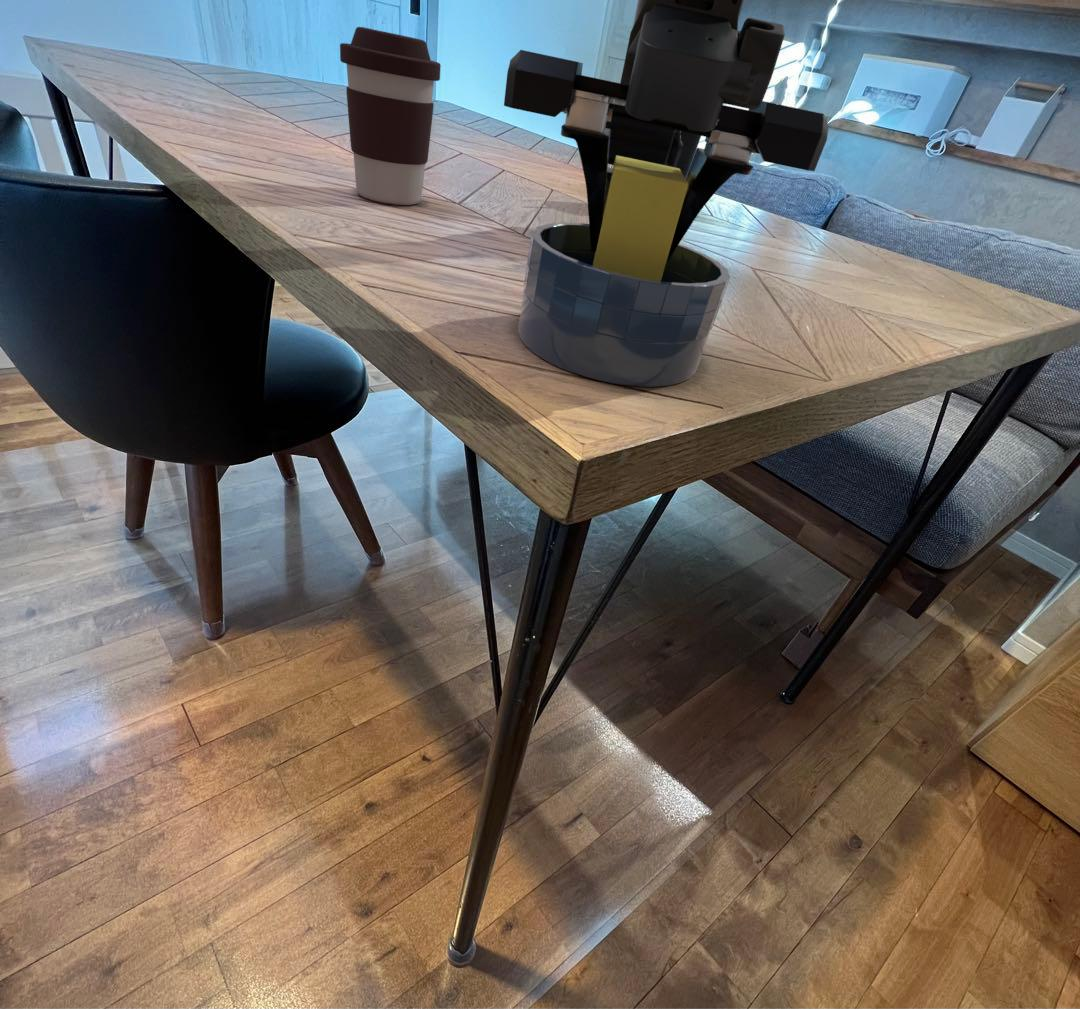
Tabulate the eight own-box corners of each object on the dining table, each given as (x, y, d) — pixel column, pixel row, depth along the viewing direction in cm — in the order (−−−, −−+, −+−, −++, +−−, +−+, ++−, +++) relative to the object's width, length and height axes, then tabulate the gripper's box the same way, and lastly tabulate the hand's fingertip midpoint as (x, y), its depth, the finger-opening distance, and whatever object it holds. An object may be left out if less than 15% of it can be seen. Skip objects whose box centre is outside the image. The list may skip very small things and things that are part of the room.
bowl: (483, 315, 43) (494, 220, 39) (616, 305, 50) (636, 224, 46) (594, 399, 35) (622, 290, 31) (734, 373, 42) (770, 282, 38)
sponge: (593, 260, 45) (616, 155, 40) (651, 272, 45) (680, 168, 40) (589, 286, 39) (614, 167, 35) (655, 300, 39) (688, 183, 35)
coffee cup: (390, 212, 62) (393, 34, 53) (324, 189, 66) (316, 17, 57) (450, 206, 70) (461, 48, 61) (388, 185, 73) (390, 32, 64)
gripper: (507, -119, 25) (471, 259, 34) (933, -28, 25) (783, 324, 35) (538, -68, 34) (503, 221, 43) (852, -1, 34) (750, 273, 43)
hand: (627, 257), depth 41 cm, fingers closed on sponge, 4 cm apart
